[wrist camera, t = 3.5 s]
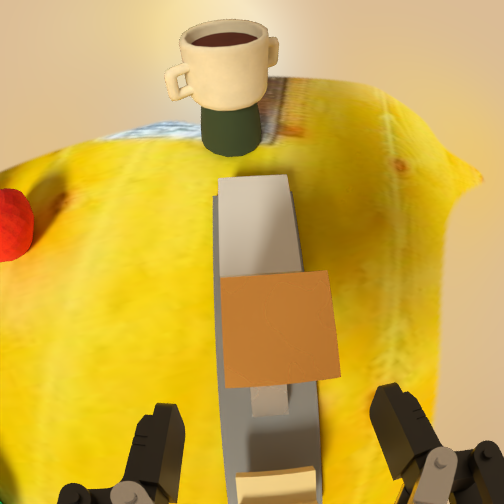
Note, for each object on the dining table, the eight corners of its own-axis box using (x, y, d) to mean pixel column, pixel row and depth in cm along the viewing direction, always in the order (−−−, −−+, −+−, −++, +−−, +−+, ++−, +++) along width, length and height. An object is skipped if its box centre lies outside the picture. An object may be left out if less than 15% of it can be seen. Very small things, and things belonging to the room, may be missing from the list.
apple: (59, 221, 26) (22, 182, 19) (25, 285, 23) (-21, 258, 16) (26, 203, 27) (-7, 169, 20) (-5, 258, 24) (-43, 230, 17)
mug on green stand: (255, 106, 32) (255, 10, 20) (292, 139, 29) (306, 32, 17) (172, 144, 29) (144, 42, 17) (203, 184, 27) (177, 68, 15)
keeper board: (214, 202, 26) (206, 167, 22) (290, 197, 26) (297, 162, 22) (230, 510, 15) (225, 540, 11) (319, 502, 16) (334, 529, 11)
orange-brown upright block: (232, 203, 24) (219, 84, 13) (273, 200, 25) (285, 81, 14) (244, 415, 18) (231, 470, 7) (294, 411, 18) (345, 457, 7)
